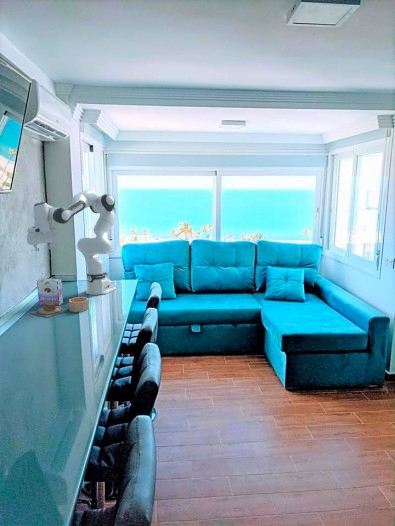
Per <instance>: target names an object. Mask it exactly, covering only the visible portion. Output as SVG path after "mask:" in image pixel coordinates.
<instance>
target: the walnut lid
mask: <svg viewBox="0 0 395 526" xmlns="http://www.w3.org/2000/svg"><path fill="white" fill-rule="evenodd" d="M62 308H63V307H62V306H60V305H58V306H57V305H55V304H53V303H48V302H46V303H43V305H42V307H39V308H38V309H37V310H36V311H37V313H38V314H40V315H51V314H56V313H59V312H61V311H62Z"/></svg>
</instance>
